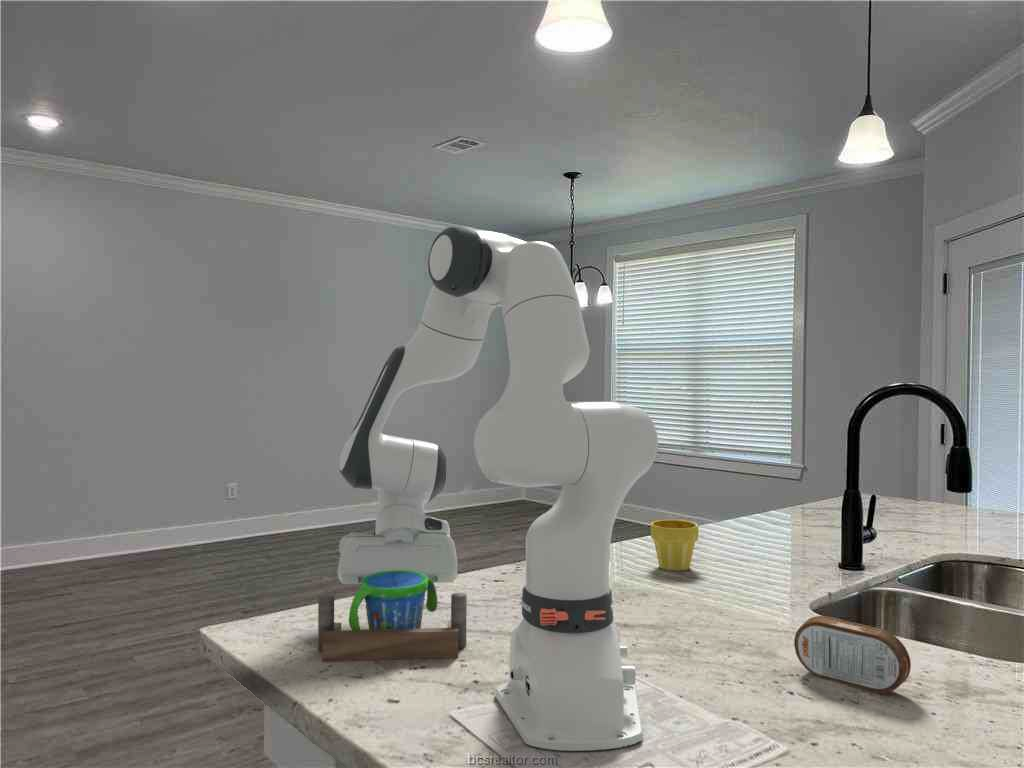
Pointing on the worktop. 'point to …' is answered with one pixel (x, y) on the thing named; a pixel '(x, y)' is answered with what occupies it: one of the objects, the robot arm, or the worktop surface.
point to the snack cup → (393, 600)
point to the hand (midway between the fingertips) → (396, 604)
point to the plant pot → (674, 543)
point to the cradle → (390, 637)
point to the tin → (852, 654)
